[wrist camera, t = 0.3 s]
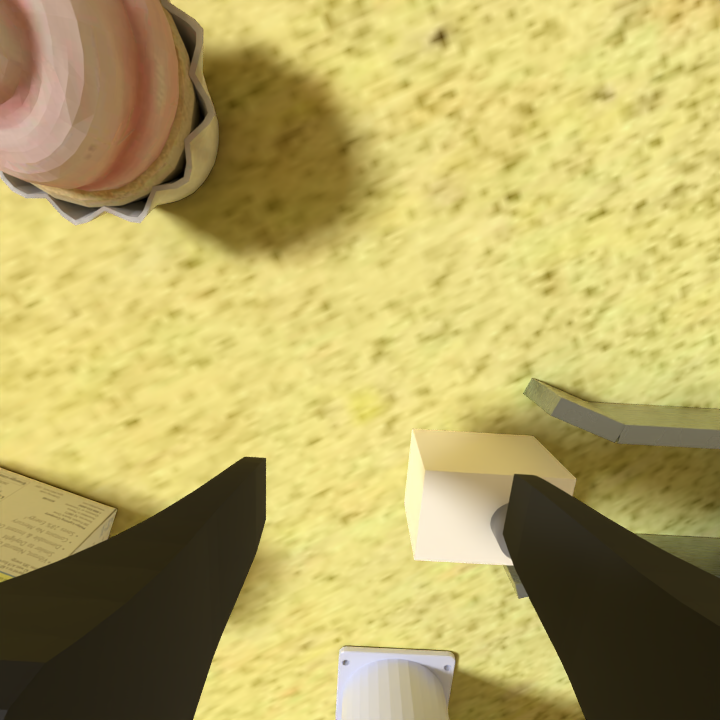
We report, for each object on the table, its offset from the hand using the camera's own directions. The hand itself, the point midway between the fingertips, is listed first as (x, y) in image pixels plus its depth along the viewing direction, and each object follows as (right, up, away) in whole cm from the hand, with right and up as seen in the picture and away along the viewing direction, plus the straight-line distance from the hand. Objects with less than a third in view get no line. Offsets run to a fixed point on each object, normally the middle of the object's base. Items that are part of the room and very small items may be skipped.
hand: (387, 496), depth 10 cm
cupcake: (-10, +15, +7) cm, 19 cm away
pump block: (+6, -3, +11) cm, 13 cm away
